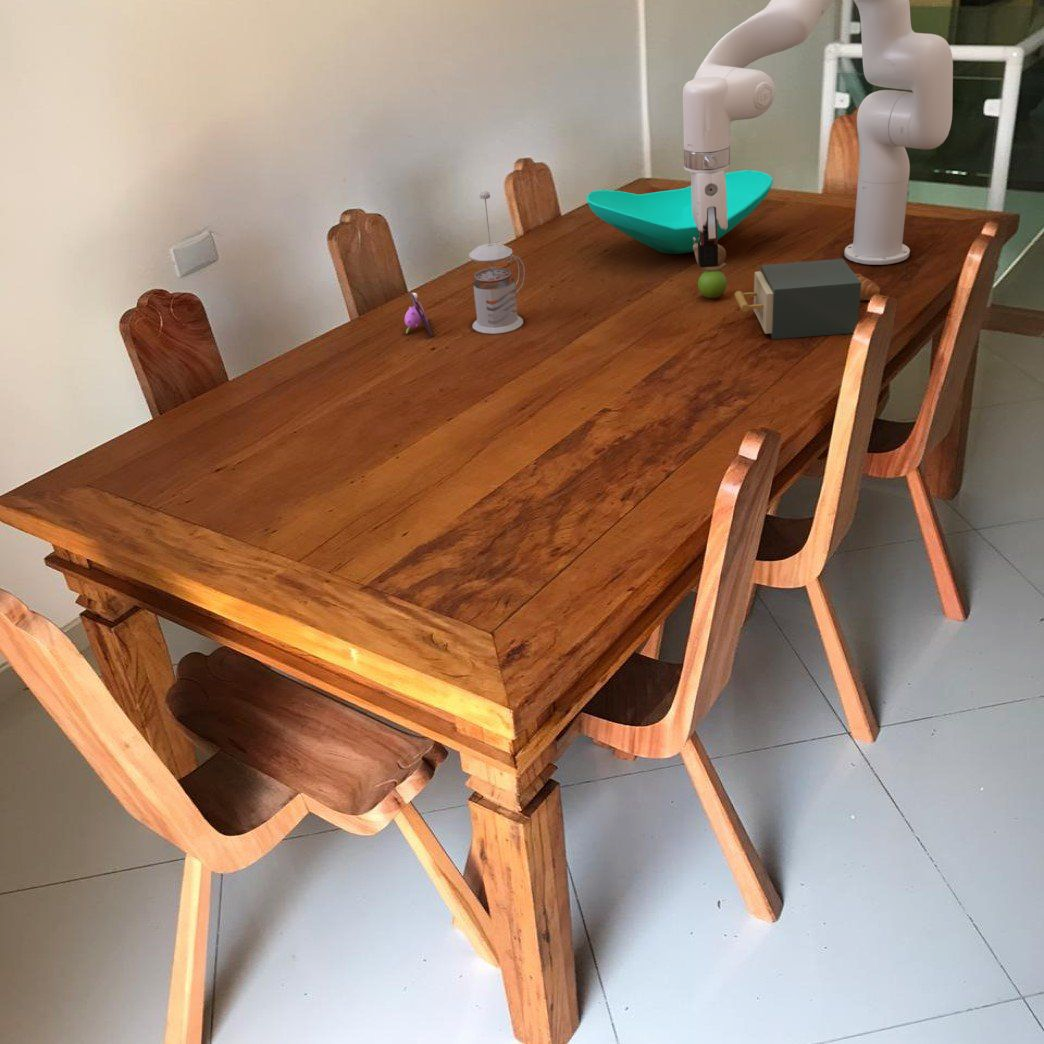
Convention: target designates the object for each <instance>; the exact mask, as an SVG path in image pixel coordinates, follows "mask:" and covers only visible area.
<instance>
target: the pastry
mask: <svg viewBox="0 0 1044 1044" xmlns="http://www.w3.org/2000/svg"><path fill="white" fill-rule="evenodd" d="M853 273H854V274H855V275H856V276H857V278H858V279H859V280H860V282H861V292H860V302H862V301H871V300H870V298H871V297H872V296H873V295H875V294H879V295H880V292H881V288H880V286H879V285H878V284H876V282H875V281H873V280H870V278H868V277H865V276H863V274H861V273H855V272H853Z"/></svg>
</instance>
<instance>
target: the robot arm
mask: <svg viewBox="0 0 1044 1044" xmlns="http://www.w3.org/2000/svg"><path fill="white" fill-rule="evenodd" d="M833 1H834V0H770V1H769V3H768V4H767V5H766V6H765V7H764V8H763V9H762V10H760V11H758V12H757V13H755V14H753V15H752V16H750V17H749V18H747V19H746V20H744V21H743V22H741V23H740V24H738V25H737V26H736V27H734V28H733V29H731V30H730V31H729V32H727V33H725V35H723V36H722V37H721V38H720V39H719V40H718V41H717V42H716V43H715V44H714V46H713V47H712V48H711V49H710V50H709V52H708V53H707V55H706V57H705V58H704V60H703V61H702V62H701V64H700V66H699V67H698V68H697V70H696V72H695V74H694V77H693V79H691V80H688V81H687V82H686V83H685V84H684V86H683V90H682V124H683V125H682V126H683V127H682V129H683V131H682V133H683V169H684V171H685V172H688V173H690V186H691V200H692V214H693V219H694V221H695V224H696V226H697V228H698V238H699V242H698V263H697V265H698V264H699V265H698V267H699V266H700V267H701V268H703V267H713V266H717V265H718V245H719V243H718V240H717V230H718V229H717V228H718V223H719V225H720V227H721V229H723V230H726V229H727V228H728V221H727V194H726V179H725V174H726V170H728V169H729V168H730V167H731V123H732V122H735V121H741V120H743V121H744V120H750V119H754V118H757V117H761V116H762V115H763V114H764V113H766V112H767V111H768V110H769V109H770V107H771V106H772V104H773V103H774V100H775V96H776V87H775V82H774V80H773V79H772V78H771V76H770V75H769V74H767V73H766V72H765V71H762V70H759V69H754V68H747V67H748V66H749V65H751V64H752V63H754V62H755V61H758V60H760V59H762V58H765V57H768V56H771V55H774V54H778V53H781V52H785V51H786V50H789V49H792V48H794V47H797V46H800V45H801V44H802V43H804V42H805V41H806V40H807V39H808V37H809V36H810V34H811V33H812V32H813V30H814V29H815V28H816V26H817V25H818V23H819V21H820V20H821V18H822V17H823V16H824V14H825V13H826V11H828V8H829V7H830V6H831V4H832V3H833ZM853 2H854V3H855V5H856V7H857V9H858V13H859V19H860V33H861V37H860V38H861V56H862V57H861V59H862V69H863V71H862V72H863V75H864V78H865V80H866V82H867V83H869V84H870V85H872V86H874V87H875V86H876V87H881V88H888V89H883V90H882V89H881V90H877V91H873V92H871V93H869V94H868V95H866V97H864V98H863V100H862V101H861V103H860V104H859V106H858V109H857V113H856V131H857V137H858V138H857V139H858V150H859V152H858V153H859V154H858V173H857V187H856V198H855V200H856V201H855V212H854V213H855V214H854V225H853V239H852V243H850V244H849V245H846V247H845V248H844V257H845V258H846V259H847V260H849V261H851V262H854V263H856V264H862V265H871V266H884V265H886V266H887V265H894V264H897V263H901V262H904V261H905V260H907V259H908V258H909V257H910V253H911V250H910V247H908V246H907V245H906V244H904V242H903V241H904V232H905V231H904V230H905V221H906V212H907V211H906V210H907V201H908V190H909V183H910V182H909V180H910V173H911V166H910V165H911V164H910V159H909V155H908V152H907V150H906V148H909V149H915V150H927V151H928V150H933V149H936V148H938V147H940V146H941V145H942V144H944V143H945V141H946V139H947V138H948V136H949V134H950V133H949V132H950V130H951V126H952V121H953V97H954V96H953V95H954V93H953V92H954V88H953V87H954V85H953V84H954V75H953V74H954V60H953V52H952V49H951V47H950V45H949V42H948V41H947V40H946V39H945V38H944V37H942V36H941V35H938V34H934V33H926V32H925V33H923V32H915V31H914V30H913V28H912V22H911V21H912V20H911V19H912V18H911V5H910V4H911V3H910V0H853ZM894 89H896V90H894ZM903 90H904V91H903ZM700 267H699V268H700ZM701 268H700V269H701Z"/></svg>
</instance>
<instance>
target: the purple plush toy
mask: <svg viewBox="0 0 1044 1044" xmlns="http://www.w3.org/2000/svg"><path fill="white" fill-rule="evenodd" d="M409 296H410V299H411V300H412V303H413V305H412V306H409V307H408V310H407V311H406V313H405V315H404V324H405V326H406V327H407V329H406V330H405V334H406V335H408V334H409V332H410V331H411V330H412V329H416V328H417V327H418V326H419V325H420V323H421V322H422V323H423V326H424V327H425V329H426V331H427V333H428V334H429V336H430V338H433V337H434V335H433V333H432V330H431V327H430V325H429V321H428V319H427V315H426V314H425V310H424V309H423V306H422V304H421V302H420V301H418V300H417V299H418V297H419V296H418V293H417V292H412V290H410V291H409Z"/></svg>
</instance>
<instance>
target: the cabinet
mask: <svg viewBox="0 0 1044 1044" xmlns="http://www.w3.org/2000/svg"><path fill="white" fill-rule="evenodd" d="M760 271H761V272H762V274H763V275H764V277H765V279H766V281H767V283H768V284H769V285H770V287H771V289H772V290H773V292H774V297H773V323H772V333H770V334H769V335H770V337H771V339H772V340H782V339H784V340H785V339H795V338H808V337H822V336H832V335H834V336H835V335H846V334H854V333H853V331H854V328H855V325H856V324H857V323H858V324H859V316H860V305H861V301H860V292H861V282H860V280H859V279H858V278H857V276H856V275H855V274H856V273H855V272H854V271H853V270H852V268H851V267H850V266H849V265H848V263H847V262H846V261H845V259H844V258H833V259H822V260H810V261H797V262H796V261H795V262H783V263H772V264H761V265H760ZM854 273H855V274H854Z"/></svg>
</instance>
